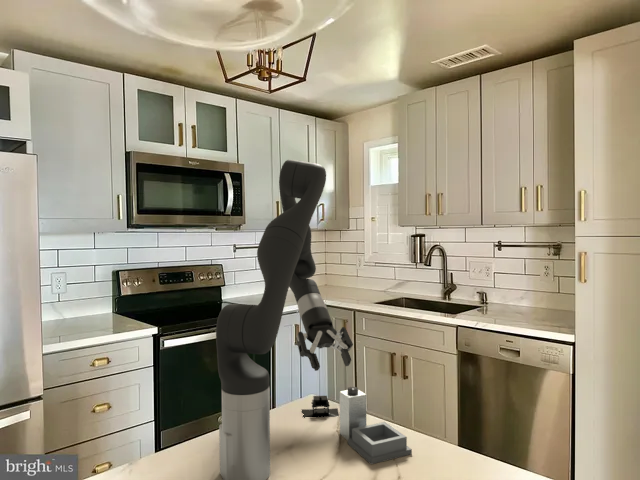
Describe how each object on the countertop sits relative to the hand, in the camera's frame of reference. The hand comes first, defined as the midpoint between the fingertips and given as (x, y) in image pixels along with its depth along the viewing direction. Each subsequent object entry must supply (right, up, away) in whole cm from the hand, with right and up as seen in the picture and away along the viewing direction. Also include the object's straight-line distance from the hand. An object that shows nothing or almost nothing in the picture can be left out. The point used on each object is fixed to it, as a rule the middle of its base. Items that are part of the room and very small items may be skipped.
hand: (333, 366), depth 115 cm
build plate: (-3, -14, +5) cm, 15 cm away
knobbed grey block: (+4, -14, -9) cm, 17 cm away
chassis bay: (+10, -14, -15) cm, 22 cm away
